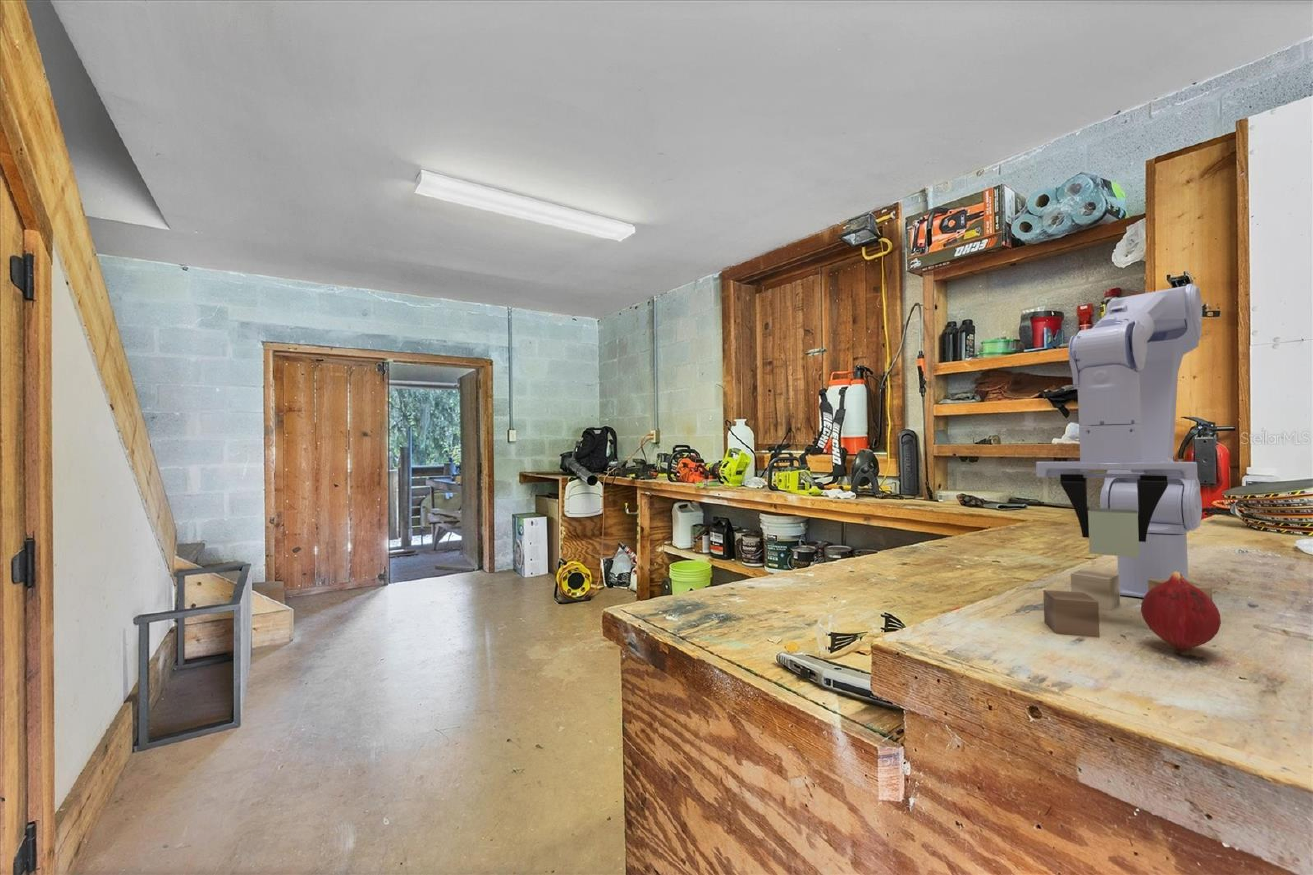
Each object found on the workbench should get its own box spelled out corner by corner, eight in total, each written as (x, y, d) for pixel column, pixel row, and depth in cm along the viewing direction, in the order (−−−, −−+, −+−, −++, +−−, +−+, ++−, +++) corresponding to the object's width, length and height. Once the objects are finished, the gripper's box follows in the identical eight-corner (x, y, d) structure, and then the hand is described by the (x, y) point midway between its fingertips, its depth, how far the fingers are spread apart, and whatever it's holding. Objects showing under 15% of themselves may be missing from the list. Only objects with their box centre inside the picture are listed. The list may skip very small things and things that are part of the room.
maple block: (1082, 598, 73) (1081, 569, 73) (1119, 604, 70) (1118, 574, 70) (1071, 603, 71) (1070, 573, 71) (1109, 610, 68) (1108, 579, 68)
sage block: (1090, 547, 67) (1089, 507, 67) (1137, 551, 64) (1136, 509, 64) (1089, 553, 63) (1088, 511, 63) (1139, 557, 60) (1137, 513, 60)
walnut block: (1044, 623, 64) (1043, 589, 64) (1084, 626, 62) (1083, 592, 62) (1056, 634, 60) (1055, 599, 60) (1099, 638, 59) (1098, 602, 59)
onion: (1239, 663, 51) (1236, 580, 51) (1169, 660, 52) (1166, 578, 52) (1191, 641, 57) (1188, 566, 57) (1129, 638, 58) (1126, 565, 58)
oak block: (1148, 610, 67) (1147, 579, 68) (1182, 610, 67) (1181, 579, 67) (1176, 621, 63) (1175, 587, 64) (1213, 621, 63) (1211, 587, 63)
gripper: (1032, 427, 66) (1035, 537, 65) (1199, 422, 56) (1204, 550, 56) (1037, 428, 71) (1041, 529, 71) (1191, 423, 61) (1195, 540, 61)
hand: (1113, 538), depth 64 cm, fingers closed on sage block, 4 cm apart
